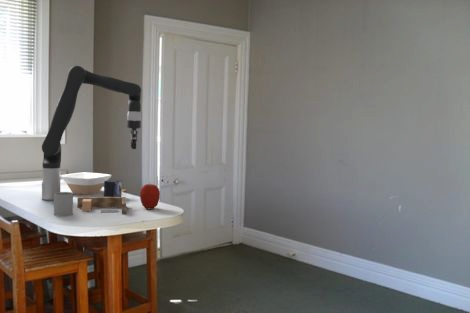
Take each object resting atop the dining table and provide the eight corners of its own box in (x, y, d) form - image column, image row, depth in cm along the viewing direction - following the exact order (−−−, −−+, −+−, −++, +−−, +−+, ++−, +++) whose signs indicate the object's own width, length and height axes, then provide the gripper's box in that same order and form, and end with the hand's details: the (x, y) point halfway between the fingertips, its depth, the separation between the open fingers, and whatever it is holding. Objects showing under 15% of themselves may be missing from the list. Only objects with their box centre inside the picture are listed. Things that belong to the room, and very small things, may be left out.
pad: (100, 212, 248) (100, 211, 248) (101, 210, 253) (101, 209, 253) (117, 212, 250) (117, 211, 250) (117, 210, 255) (117, 209, 255)
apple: (147, 211, 255) (147, 183, 254) (135, 208, 262) (136, 181, 260) (163, 209, 262) (164, 182, 261) (151, 206, 269) (152, 180, 268)
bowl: (56, 193, 299) (56, 175, 298) (83, 188, 322) (83, 171, 321) (89, 197, 290) (89, 178, 289) (114, 191, 313) (115, 174, 312)
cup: (56, 212, 245) (56, 191, 245) (74, 212, 246) (74, 192, 245) (52, 216, 237) (52, 194, 236) (70, 216, 238) (70, 195, 237)
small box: (114, 200, 283) (114, 181, 282) (103, 199, 284) (103, 180, 284) (122, 197, 293) (122, 179, 293) (111, 196, 295) (111, 178, 294)
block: (82, 211, 250) (82, 201, 250) (83, 208, 257) (83, 198, 257) (90, 211, 251) (90, 201, 251) (91, 208, 258) (91, 198, 258)
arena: (74, 214, 241) (74, 204, 241) (77, 206, 261) (77, 197, 261) (125, 214, 247) (126, 203, 246) (125, 206, 266) (125, 196, 266)
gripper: (126, 119, 293) (125, 147, 294) (128, 119, 279) (127, 149, 280) (139, 119, 295) (139, 147, 296) (141, 120, 281) (141, 149, 282)
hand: (133, 148), depth 288 cm, fingers open, 8 cm apart
